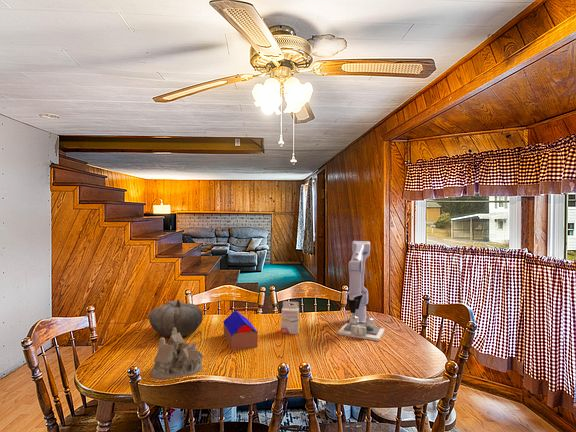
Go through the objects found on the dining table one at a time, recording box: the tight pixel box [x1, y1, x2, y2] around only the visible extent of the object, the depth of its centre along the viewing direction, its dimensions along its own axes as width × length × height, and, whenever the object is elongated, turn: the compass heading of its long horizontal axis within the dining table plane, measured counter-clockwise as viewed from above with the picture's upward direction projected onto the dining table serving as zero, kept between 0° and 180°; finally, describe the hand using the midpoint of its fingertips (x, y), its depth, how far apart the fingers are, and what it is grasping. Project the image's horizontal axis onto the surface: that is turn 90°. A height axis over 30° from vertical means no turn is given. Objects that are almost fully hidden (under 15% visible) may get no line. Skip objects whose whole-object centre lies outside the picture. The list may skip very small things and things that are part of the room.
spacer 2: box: [364, 317, 376, 330], centre depth 173 cm, size 4×4×5 cm
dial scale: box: [337, 322, 386, 342], centre depth 173 cm, size 15×20×5 cm
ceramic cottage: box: [150, 328, 204, 380], centre depth 131 cm, size 16×16×15 cm
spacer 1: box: [349, 314, 360, 327], centre depth 176 cm, size 4×4×5 cm
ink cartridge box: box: [280, 300, 300, 335], centre depth 173 cm, size 9×5×15 cm, turn 84°
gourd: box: [148, 298, 203, 338], centre depth 170 cm, size 25×25×17 cm
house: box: [222, 310, 259, 351], centre depth 161 cm, size 12×20×12 cm, turn 21°
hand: (354, 311), depth 176 cm, fingers open, 7 cm apart
